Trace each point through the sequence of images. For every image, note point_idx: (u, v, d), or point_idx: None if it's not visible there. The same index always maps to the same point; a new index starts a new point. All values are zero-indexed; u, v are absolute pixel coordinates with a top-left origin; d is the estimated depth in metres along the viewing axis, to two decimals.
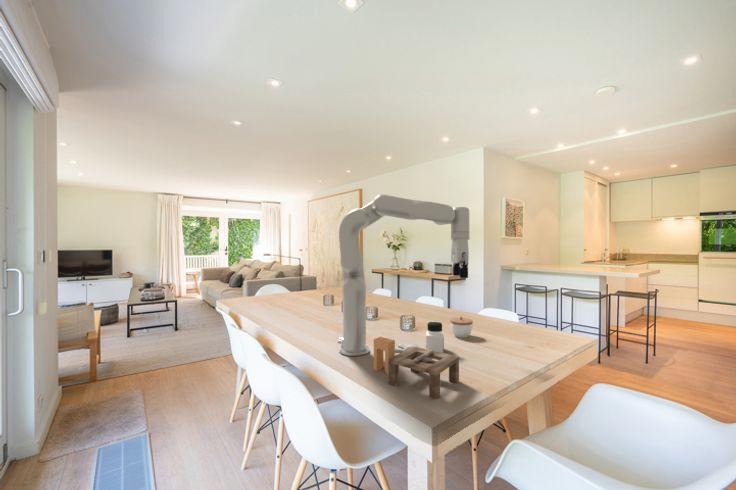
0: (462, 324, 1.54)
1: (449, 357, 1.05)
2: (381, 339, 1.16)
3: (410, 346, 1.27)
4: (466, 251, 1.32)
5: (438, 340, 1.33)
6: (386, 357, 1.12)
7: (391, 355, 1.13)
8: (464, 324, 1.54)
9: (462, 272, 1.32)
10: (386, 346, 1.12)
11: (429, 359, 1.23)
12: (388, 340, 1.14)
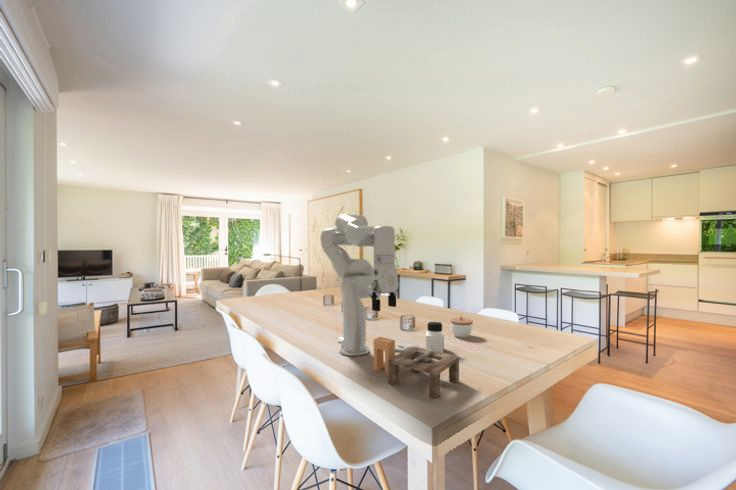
0: (462, 324, 1.54)
1: (449, 357, 1.05)
2: (381, 339, 1.16)
3: (410, 346, 1.28)
4: None
5: (438, 340, 1.33)
6: (386, 357, 1.12)
7: (391, 355, 1.13)
8: (464, 324, 1.54)
9: None
10: (386, 346, 1.12)
11: (429, 359, 1.23)
12: (388, 340, 1.14)
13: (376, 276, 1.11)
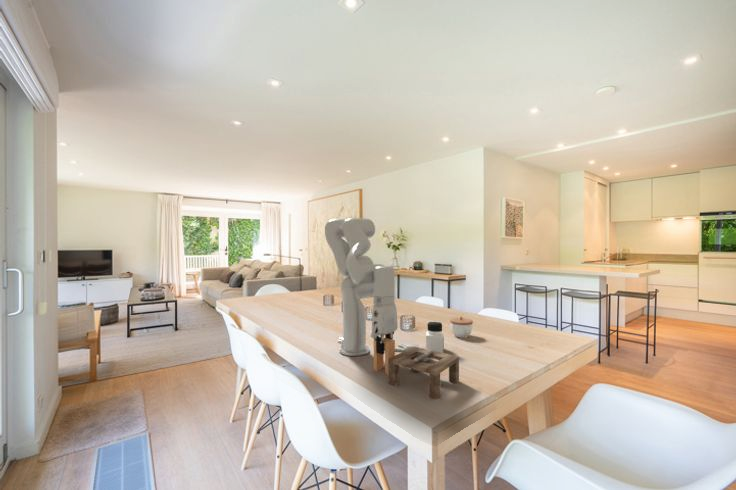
0: (462, 324, 1.54)
1: (449, 357, 1.05)
2: None
3: (410, 345, 1.28)
4: None
5: (438, 340, 1.33)
6: (386, 357, 1.12)
7: (391, 355, 1.13)
8: (464, 324, 1.54)
9: None
10: (386, 346, 1.12)
11: (428, 359, 1.23)
12: (388, 340, 1.14)
13: (376, 317, 1.11)
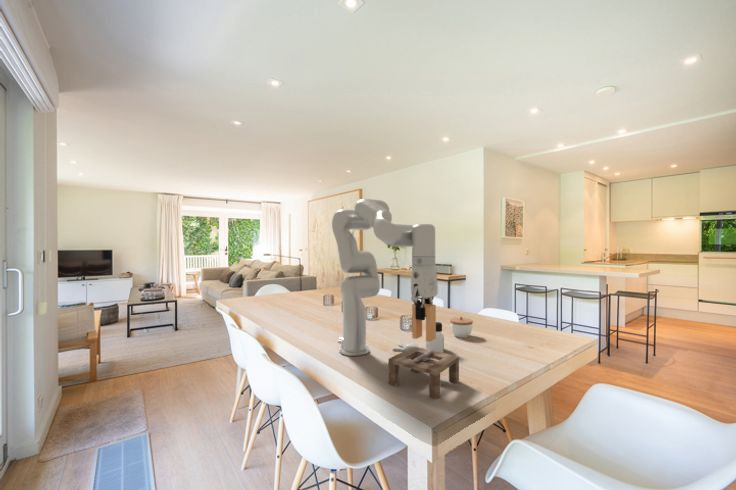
0: (462, 324, 1.54)
1: (449, 357, 1.05)
2: None
3: (409, 345, 1.28)
4: None
5: (438, 340, 1.33)
6: (427, 323, 1.02)
7: (432, 321, 1.03)
8: (464, 324, 1.54)
9: None
10: (427, 310, 1.02)
11: (428, 358, 1.23)
12: (429, 305, 1.04)
13: (416, 279, 1.01)
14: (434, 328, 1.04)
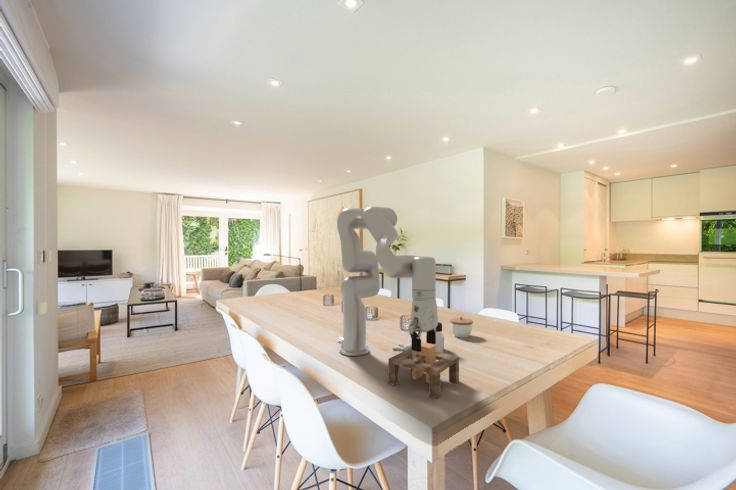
0: (462, 324, 1.54)
1: (449, 357, 1.05)
2: None
3: (409, 345, 1.29)
4: None
5: (438, 340, 1.33)
6: None
7: (432, 362, 1.03)
8: (464, 324, 1.54)
9: None
10: (427, 351, 1.02)
11: None
12: (428, 345, 1.04)
13: (416, 313, 1.01)
14: None
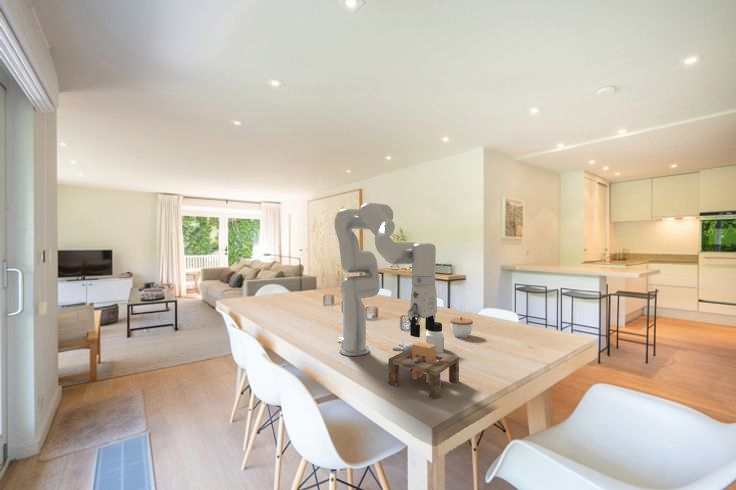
0: (462, 324, 1.54)
1: (449, 357, 1.05)
2: (420, 344, 1.06)
3: (409, 345, 1.29)
4: None
5: (438, 340, 1.33)
6: None
7: (432, 362, 1.03)
8: (464, 324, 1.54)
9: None
10: (427, 351, 1.02)
11: None
12: (428, 345, 1.04)
13: (416, 299, 1.02)
14: None
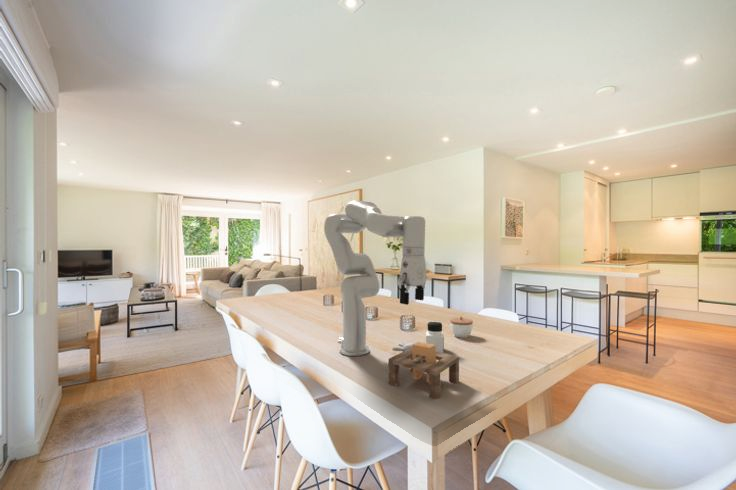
0: (462, 324, 1.54)
1: (449, 357, 1.05)
2: (420, 344, 1.06)
3: (409, 344, 1.29)
4: None
5: (438, 340, 1.33)
6: None
7: (432, 362, 1.03)
8: (464, 324, 1.54)
9: None
10: (427, 351, 1.02)
11: None
12: (428, 345, 1.04)
13: (405, 268, 1.07)
14: None
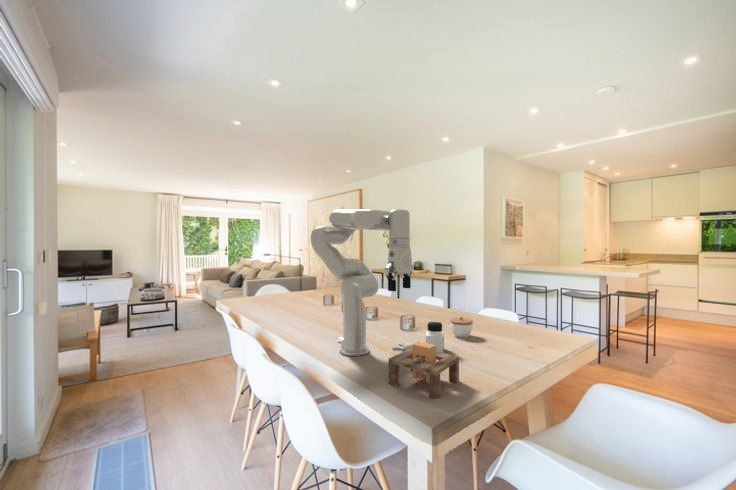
0: (462, 324, 1.54)
1: (449, 357, 1.05)
2: (420, 344, 1.06)
3: (409, 344, 1.29)
4: None
5: (438, 340, 1.33)
6: None
7: (432, 362, 1.03)
8: (464, 324, 1.54)
9: None
10: (427, 351, 1.02)
11: None
12: (428, 345, 1.04)
13: (392, 258, 1.16)
14: None
